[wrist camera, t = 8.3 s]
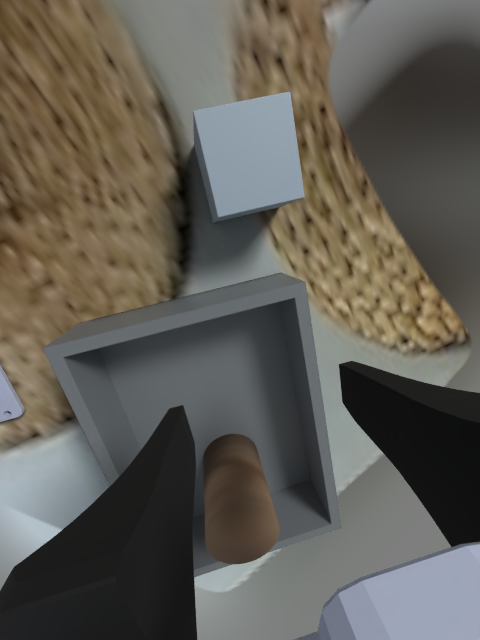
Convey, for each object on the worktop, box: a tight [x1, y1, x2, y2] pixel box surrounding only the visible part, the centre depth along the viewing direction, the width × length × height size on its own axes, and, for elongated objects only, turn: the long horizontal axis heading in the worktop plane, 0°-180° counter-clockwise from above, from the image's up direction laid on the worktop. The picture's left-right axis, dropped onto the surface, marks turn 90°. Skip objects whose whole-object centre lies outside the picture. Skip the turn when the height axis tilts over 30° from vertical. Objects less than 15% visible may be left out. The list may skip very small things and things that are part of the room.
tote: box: [43, 273, 341, 577], centre depth 21 cm, size 16×22×5 cm
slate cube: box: [193, 92, 305, 223], centre depth 17 cm, size 5×5×5 cm
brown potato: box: [203, 434, 280, 564], centre depth 21 cm, size 5×5×7 cm
